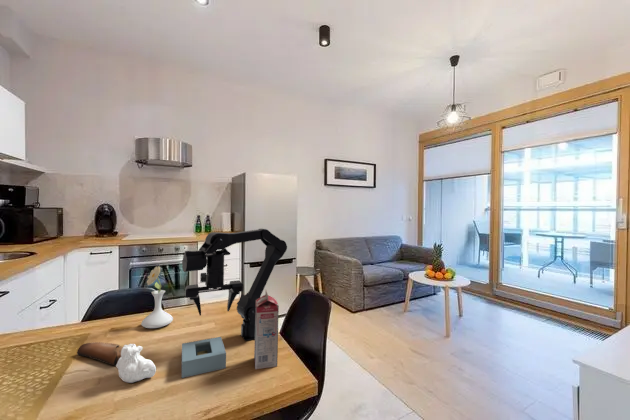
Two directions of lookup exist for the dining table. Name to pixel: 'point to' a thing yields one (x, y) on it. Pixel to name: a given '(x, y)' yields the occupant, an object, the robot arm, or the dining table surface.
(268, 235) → the robot arm
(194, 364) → the blue-grey hollow frame
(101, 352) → the sunglasses case
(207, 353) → the tan wooden post
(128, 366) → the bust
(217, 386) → the dining table surface
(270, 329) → the juice carton
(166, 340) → the dining table surface
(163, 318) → the flower in vase
